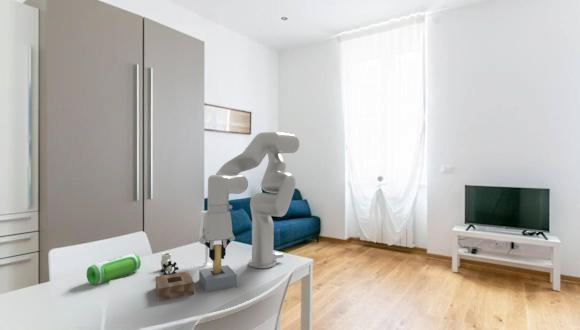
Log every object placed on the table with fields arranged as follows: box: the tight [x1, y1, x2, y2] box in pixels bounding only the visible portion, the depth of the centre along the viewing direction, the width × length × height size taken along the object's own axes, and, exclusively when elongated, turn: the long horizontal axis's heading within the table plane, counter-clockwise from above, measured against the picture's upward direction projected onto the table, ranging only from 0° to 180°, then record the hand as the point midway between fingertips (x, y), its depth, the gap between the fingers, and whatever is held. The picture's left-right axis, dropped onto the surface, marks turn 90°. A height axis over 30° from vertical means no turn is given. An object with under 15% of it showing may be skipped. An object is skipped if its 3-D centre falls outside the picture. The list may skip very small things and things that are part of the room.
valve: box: [160, 252, 179, 276], centre depth 125 cm, size 7×7×12 cm
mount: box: [155, 271, 195, 302], centre depth 106 cm, size 11×11×5 cm
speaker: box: [86, 253, 142, 286], centre depth 119 cm, size 18×7×8 cm, turn 150°
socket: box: [198, 264, 238, 293], centre depth 113 cm, size 11×11×5 cm
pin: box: [212, 243, 222, 274], centre depth 113 cm, size 3×3×10 cm
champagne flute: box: [198, 209, 213, 267], centre depth 132 cm, size 7×7×24 cm
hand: (217, 258), depth 113 cm, fingers closed on pin, 3 cm apart
